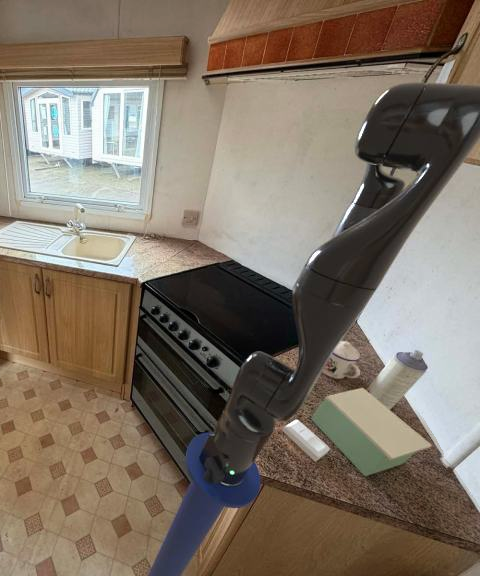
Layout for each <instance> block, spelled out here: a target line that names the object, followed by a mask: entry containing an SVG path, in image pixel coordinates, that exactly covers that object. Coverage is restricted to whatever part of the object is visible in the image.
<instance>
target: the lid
mask: <svg viewBox="0 0 480 576" xmlns="http://www.w3.org/2000/svg"><path fill="white" fill-rule="evenodd" d="M325 398H326V399H327V400H328V401H329V402H330V403H331V404H332V405H333V406H335V407H336V408H337V409H338V410H339V411H340V412H341V413H342V414H343V415H344V416H345V417H346V418H347V419H348V420H349V421H350V422H351V423H352V424H353V425H354V426H355V427H356V428H358V429H359V430H360V431H361V432H362V433H363V434H364V435H365V436H366V437H367V438H368V439H369V440H370V441H371V442H372V443H373V444H374V445H375V446H376V447H377V448H378V449H379V450H381V451H382V452H383V453H384V454H385V455H386V456H387V457H388V458H389V459H390V460H392V459H395V458H399V457H402V456H405V455H408V454H411V453H414V452H416V453H417V452H421V451H423V450H426V449H430V448H431V447H432V446H433V445H432V444H431V443H430V442H428V441H427V440H426V439H425V438H424V437H423V436H422V435H421V434H419V433H418V432H417V431H416V430H414V429H413V428H412V427H411V426H409V424H407V423H406V422H404V420H402V419H401V418H400V417H399V416H398V415H396V413H394V412H393V411H391V410H389V409H388V408H387V407H385V406H384V405H383V404H382V403H381V402H379V401H378V400H377V399H376V398H375V397H373V396H372V395H371V394H370V393H369V392H367V391H366V389H365V388H364V387H359V388H355V389H351V390H346V391H342V392H338V393H335V394H330V395H327V396H325Z"/></svg>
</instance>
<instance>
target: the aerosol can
mask: <svg viewBox="0 0 480 576" xmlns="http://www.w3.org/2000/svg"><path fill="white" fill-rule="evenodd" d="M423 356H424V353H423V352H422V351H420V350H416V349H415V350H414V351H413V352H412V351H411V352H409V351H408V352H407V351H406V352H404V351H400V352H399V351H398V352H396V354H394V355H393V356H392V358H391V359H390V360H389V361H388V362H387V364H385V366H384V367H383V369H382V370H381V371H380V372H379V373H378V375H377V376H376V377H375V378H374V380H373V381H372V382H371V383H370V384H369V386H367V388H366V389H365V390H366V391H367V392H369V393H370V394H371V395H372V396H373V397H375V398H376V399H377V400H378V401H379V402H381V403H382V404H383V405H384V406H385V407H387V408H388V409H389V410H390V411H391V410H392V409H393V408H394V407H395V405H397V404H398V402H399V401H401V399H402V398H403V397H404V396H405V395H406V393H408V392H409V390H411V388H413V386H414V385H415V384H416V383H417V382H419V380H420V379H421V378H422V377H423V375H424V374H425V373H426V372H427V370H428V368H429V367H428V364H427V363H426V361H425V360H424V358H423Z"/></svg>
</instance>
